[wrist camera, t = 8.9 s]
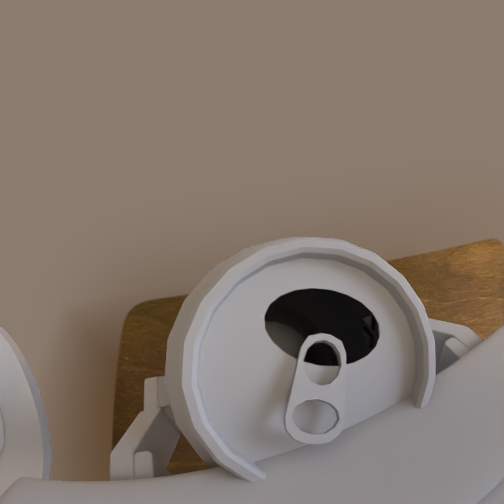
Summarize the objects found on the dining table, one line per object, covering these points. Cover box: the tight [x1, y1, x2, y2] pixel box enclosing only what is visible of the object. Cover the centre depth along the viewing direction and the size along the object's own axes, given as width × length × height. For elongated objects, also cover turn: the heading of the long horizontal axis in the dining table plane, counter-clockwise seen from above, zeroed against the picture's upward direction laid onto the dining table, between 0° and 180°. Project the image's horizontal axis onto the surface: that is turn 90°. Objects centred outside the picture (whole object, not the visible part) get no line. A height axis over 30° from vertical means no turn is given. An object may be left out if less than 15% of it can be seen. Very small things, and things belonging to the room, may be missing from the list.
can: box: [165, 236, 436, 482], centre depth 11 cm, size 8×8×12 cm
